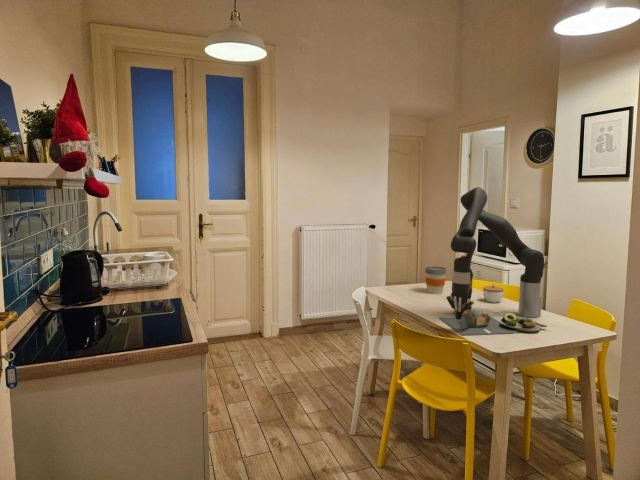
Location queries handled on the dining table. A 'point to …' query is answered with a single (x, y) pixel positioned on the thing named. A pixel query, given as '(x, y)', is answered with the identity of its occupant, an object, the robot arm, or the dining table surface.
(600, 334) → the dining table surface
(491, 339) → the dining table surface
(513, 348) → the dining table surface
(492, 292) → the lidded jar
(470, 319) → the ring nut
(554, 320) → the dining table surface
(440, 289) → the reusable coffee cup
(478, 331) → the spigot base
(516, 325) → the salad plate
